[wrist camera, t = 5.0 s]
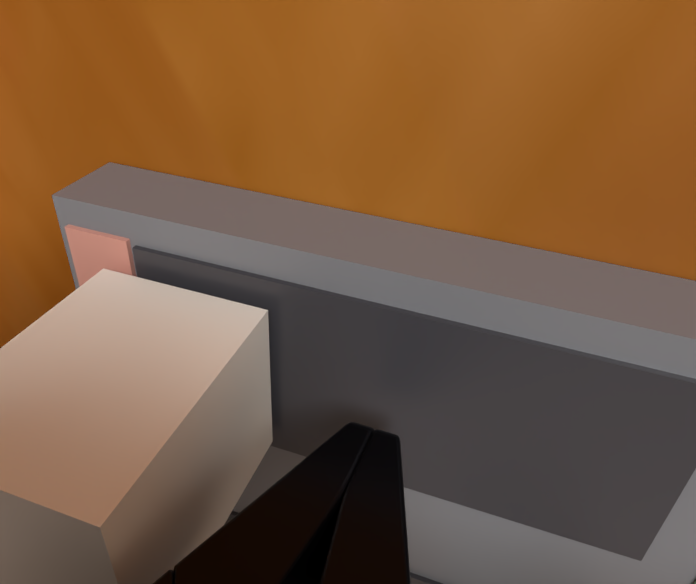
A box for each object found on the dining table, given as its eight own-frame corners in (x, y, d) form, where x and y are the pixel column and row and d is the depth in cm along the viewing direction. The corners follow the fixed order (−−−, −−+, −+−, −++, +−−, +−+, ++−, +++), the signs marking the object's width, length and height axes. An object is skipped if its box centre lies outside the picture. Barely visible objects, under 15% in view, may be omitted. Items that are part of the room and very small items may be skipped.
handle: (132, 397, 12) (-38, 585, 9) (103, 267, 10) (-124, 443, 7) (272, 441, 11) (143, 663, 8) (268, 310, 9) (100, 527, 6)
